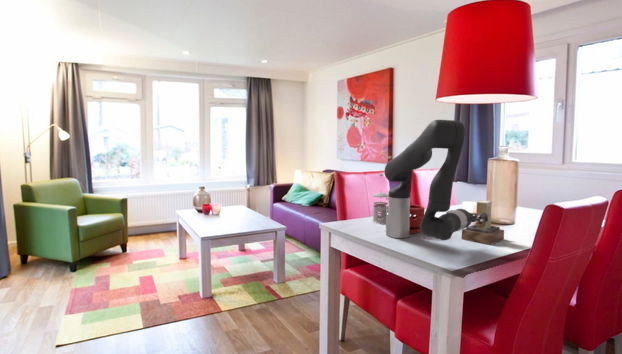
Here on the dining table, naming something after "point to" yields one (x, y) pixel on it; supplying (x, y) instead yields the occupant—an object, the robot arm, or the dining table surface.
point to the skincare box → (484, 208)
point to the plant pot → (416, 218)
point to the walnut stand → (483, 234)
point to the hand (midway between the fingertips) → (473, 213)
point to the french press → (380, 208)
